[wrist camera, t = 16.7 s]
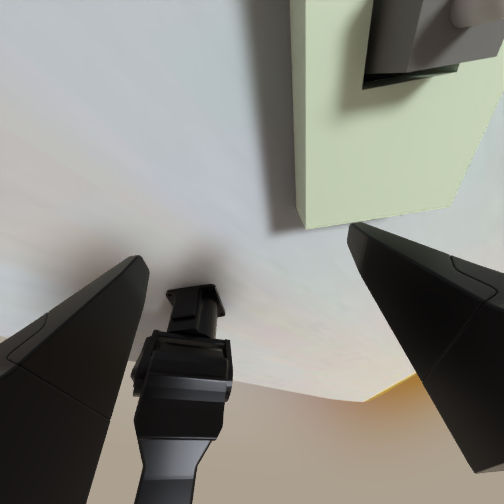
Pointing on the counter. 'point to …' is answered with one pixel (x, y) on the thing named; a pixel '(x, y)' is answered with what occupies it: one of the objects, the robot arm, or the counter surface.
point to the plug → (432, 33)
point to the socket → (378, 121)
